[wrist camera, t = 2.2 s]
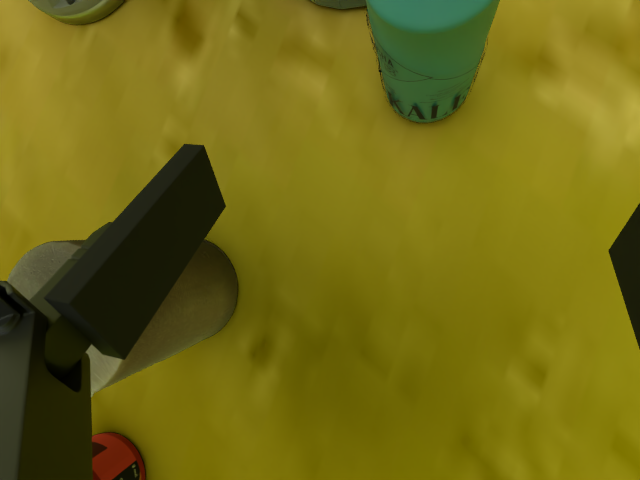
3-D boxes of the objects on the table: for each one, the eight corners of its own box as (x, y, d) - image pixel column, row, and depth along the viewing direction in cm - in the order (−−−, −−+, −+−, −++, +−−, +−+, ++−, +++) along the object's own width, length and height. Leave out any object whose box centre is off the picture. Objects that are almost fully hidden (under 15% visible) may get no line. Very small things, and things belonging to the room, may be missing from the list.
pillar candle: (209, 218, 35) (63, 206, 21) (257, 312, 34) (137, 369, 20) (132, 268, 38) (-48, 288, 23) (175, 357, 36) (13, 438, 22)
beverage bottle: (432, 31, 30) (454, -333, 11) (489, 91, 29) (628, -193, 10) (368, 90, 31) (286, -140, 12) (421, 150, 30) (424, 1, 11)
